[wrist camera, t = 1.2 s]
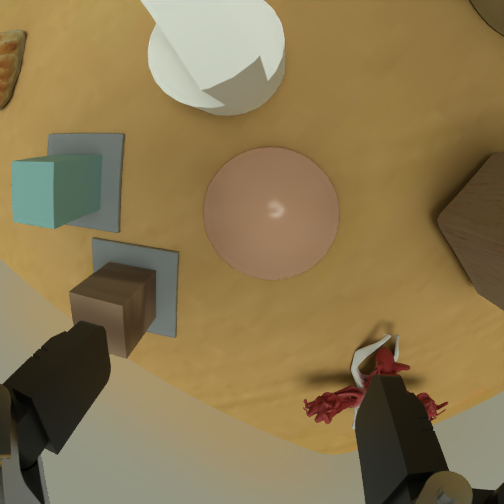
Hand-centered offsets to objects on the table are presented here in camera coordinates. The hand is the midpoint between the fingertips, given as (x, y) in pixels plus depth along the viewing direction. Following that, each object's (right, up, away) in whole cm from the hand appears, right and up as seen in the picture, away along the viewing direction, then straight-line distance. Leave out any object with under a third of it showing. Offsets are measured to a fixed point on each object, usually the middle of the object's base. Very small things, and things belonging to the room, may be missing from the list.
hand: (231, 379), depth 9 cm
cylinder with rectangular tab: (-1, +19, +14) cm, 24 cm away
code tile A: (-11, 0, +21) cm, 24 cm away
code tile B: (-16, +10, +18) cm, 26 cm away
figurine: (+13, -8, +22) cm, 27 cm away
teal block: (-16, +10, +18) cm, 26 cm away
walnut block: (-11, 0, +21) cm, 24 cm away
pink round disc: (+2, +7, +18) cm, 19 cm away
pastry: (-27, +25, +15) cm, 40 cm away
